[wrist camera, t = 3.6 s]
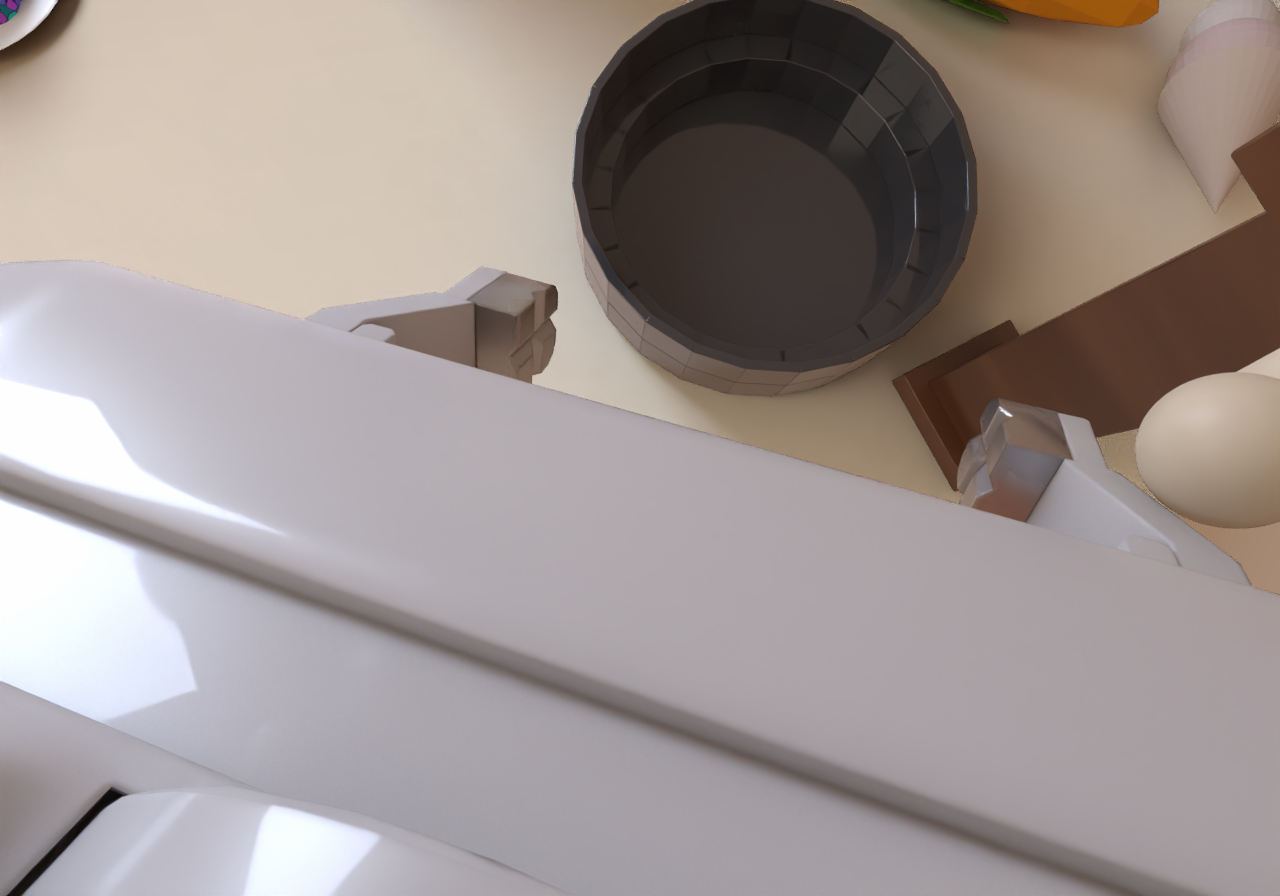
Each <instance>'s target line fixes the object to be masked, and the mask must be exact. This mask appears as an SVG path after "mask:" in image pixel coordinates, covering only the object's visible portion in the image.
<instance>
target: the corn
mask: <svg viewBox="0 0 1280 896" xmlns="http://www.w3.org/2000/svg"><path fill="white" fill-rule="evenodd" d="M948 1H950V2H952V3H954V4H956V5H959V6H962V7H965V8H967V9H970V10H973V11H976V12H978V13H981V14H984V15H987V16H989V17H992V18H995V19H998V20H1000V21H1003V22H1006V23H1009V21H1008V19H1007V18H1005V17H1004V16H1003V15H1002V14H1001V13H1000V12H999V11H996V10H994V9H991V8H989V7H986V6H984V5H981V4H979V3H976V2H974V1H972V0H948ZM980 1H982V2H985V3H989V4H993V5H997V6H1001V7H1004V8H1008V9H1012V10H1016V11H1020V12H1024V13H1028V14H1031V15H1035V16H1039V17H1043V18H1047V19H1052V20H1060V21H1069V22H1078V23H1086V24H1095V25H1104V26H1112V27H1124V26H1130V25H1136V24H1142V23H1143V22H1145V21H1146V20H1148V19H1149V18H1150V17H1152V16H1153V15H1155V14H1156V13H1158V8H1159V0H980Z"/></svg>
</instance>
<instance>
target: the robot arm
mask: <svg viewBox="0 0 1280 896" xmlns="http://www.w3.org/2000/svg"><path fill="white" fill-rule="evenodd" d="M557 306H558V292H557V289H556V287H555V286H554V285H550V284H547V283H543V282H539V281H536V280H532V279H528V278H525V277H521V276H517V275H514V274H510V273H507V272H506V271H501V270H496V269H492V268H487V267H483V266H482V267H480V268H479V269H477V270H476V271H474V272H473V273H472V274H470V275H469V276H467V277H466V278H464V279H463V280H462V281H460V282H459V283H457V284H456V285H454V286H453V287H452V288H450V289H449V290H447V291H446V292H444V293H443V294H441V293H437V292H432V293H425V294H419V295H412V296H405V297H398V298H391V299H384V300H377V301H371V302H364V303H357V304H350V305H343V306H336V307H329V308H323V309H321V310H319V311H317V312H316V313H314V314H312V315H311V316H309V317H307V318H306V319H300V318H297V317H293V316H290V315H286V314H282V313H279V312H275V311H272V310H268V309H265V308H261V307H258V306H254V305H250V304H247V303H243V302H240V301H236V300H233V299H229V298H226V297H222V296H219V295H215V294H211V293H208V292H204V291H201V290H197V289H194V288H190V287H187V286H183V285H179V284H176V283H172V282H169V281H165V280H162V279H158V278H155V277H151V276H147V275H144V274H141V273H138V272H135V271H132V270H129V269H126V268H122V267H119V266H115V265H111V264H108V263H104V262H97V261H82V260H54V261H26V262H8V263H0V896H1280V594H1276V593H1272V592H1268V591H1266V590H1261V589H1258V588H1255V587H1253V586H1252V584H1251V583H1250V581H1249V579H1248V577H1247V575H1246V573H1245V571H1244V570H1243V568H1242V566H1241V564H1240V563H1239V562H1237V561H1236V560H1235V559H1233V558H1232V557H1231V556H1229V555H1228V554H1227V553H1225V552H1224V551H1223V550H1221V549H1220V548H1219V547H1217V546H1216V545H1215V544H1213V543H1212V542H1211V541H1209V540H1208V539H1207V538H1205V537H1204V536H1203V535H1201V534H1200V533H1199V532H1197V531H1196V530H1195V529H1193V528H1192V527H1191V526H1189V525H1188V524H1187V523H1185V522H1184V521H1183V520H1181V519H1180V518H1179V517H1177V516H1176V515H1175V514H1173V513H1172V512H1171V511H1169V510H1168V509H1167V508H1165V507H1164V506H1163V505H1161V504H1160V503H1159V502H1157V501H1156V500H1155V499H1153V498H1152V497H1150V496H1149V495H1148V494H1146V493H1145V492H1144V491H1142V490H1141V489H1140V488H1138V487H1137V486H1136V485H1134V484H1133V483H1132V482H1130V481H1129V480H1128V479H1126V478H1125V477H1124V476H1122V475H1121V474H1120V473H1118V472H1114V471H1111V470H1109V469H1108V467H1107V464H1106V462H1105V459H1104V457H1103V454H1102V452H1101V449H1100V447H1099V445H1098V442H1097V440H1096V437H1095V435H1094V432H1093V430H1092V427H1091V425H1090V422H1089V421H1088V420H1086V419H1084V418H1080V417H1075V416H1070V415H1066V414H1061V413H1057V412H1056V411H1052V410H1048V409H1043V408H1039V407H1035V406H1030V405H1026V404H1022V403H1017V402H1013V401H1009V400H1004V399H1000V398H994V399H992V400H991V401H990V402H989V404H988V405H987V406H986V408H985V410H984V412H983V414H982V416H981V418H980V423H981V430H982V433H981V434H979V435H977V436H975V437H973V438H972V439H970V440H969V442H968V444H967V446H966V448H965V450H964V452H963V455H962V458H961V461H960V464H959V467H958V473H957V489H958V490H959V491H960V492H961V493H962V494H963V497H962V499H961V501H960V502H959V504H957V503H953V502H950V501H946V500H943V499H939V498H935V497H932V496H928V495H925V494H921V493H918V492H914V491H911V490H907V489H903V488H900V487H896V486H893V485H889V484H886V483H882V482H879V481H875V480H872V479H868V478H864V477H861V476H857V475H854V474H850V473H847V472H843V471H840V470H836V469H833V468H829V467H825V466H822V465H818V464H815V463H811V462H808V461H804V460H801V459H797V458H793V457H790V456H786V455H783V454H779V453H776V452H772V451H769V450H765V449H762V448H758V447H754V446H751V445H747V444H744V443H740V442H737V441H733V440H730V439H726V438H722V437H719V436H715V435H712V434H708V433H705V432H701V431H698V430H694V429H691V428H687V427H683V426H680V425H676V424H673V423H669V422H666V421H662V420H659V419H655V418H652V417H648V416H644V415H641V414H637V413H634V412H630V411H627V410H623V409H620V408H616V407H612V406H609V405H605V404H602V403H598V402H595V401H591V400H588V399H584V398H581V397H577V396H573V395H570V394H566V393H563V392H559V391H556V390H552V389H549V388H545V387H542V386H538V385H534V384H532V375H535V374H539V373H542V372H543V370H544V369H545V368H546V367H547V366H548V364H549V361H550V359H551V357H552V354H553V351H554V346H555V340H556V328H555V327H554V325H553V323H552V321H551V319H550V318H549V317H550V316H551V315H552V314H553V313H554V312H555V311H556V310H557Z"/></svg>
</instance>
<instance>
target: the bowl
mask: <svg viewBox="0 0 1280 896" xmlns="http://www.w3.org/2000/svg"><path fill="white" fill-rule="evenodd" d="M572 188H573V199H574V210H575V221H576V232H577V238H578V242H579V247H580V252H581V256H582V261H583V265H584V270H585V275H586V278H587V280H588V282H589V284H590V285H591V287H592V289H593V291H594V293H595V295H596V297H597V299H598V301H599V303H600V305H601V307H602V308H603V310H604V312H605V314H606V316H607V317H608V319H609V320H610V321H611V322H612V323H613V324H614V325H615V326H616V328H617V329H618V330H619V331H620V332H621V333H622V334H623V335H624V336H625V337H626V338H627V340H628V341H629V342H630V343H631V344H632V345H633V346H634V347H635V348H636V349H637V350H638V351H639V352H640V353H641V354H642V355H644V356H645V357H647V358H648V359H650V360H651V361H653V362H655V363H656V364H658V365H659V366H661V367H662V368H664V369H666V370H667V371H669V372H670V373H672V374H673V375H675V376H676V377H678V378H680V379H682V380H685V381H688V382H691V383H694V384H697V385H701V386H704V387H707V388H710V389H713V390H716V391H719V392H722V393H727V394H740V395H757V396H778V395H783V394H788V393H793V392H798V391H803V390H807V389H812V388H817V387H819V386H823V385H825V384H827V383H829V382H831V381H833V380H834V379H836V378H838V377H840V376H842V375H844V374H846V373H848V372H850V371H852V370H854V369H856V368H858V367H860V366H861V365H863V364H864V363H866V362H867V361H868V360H870V359H871V358H873V357H874V356H876V355H877V354H878V353H880V352H881V351H883V350H884V349H886V348H887V347H889V346H890V345H892V344H893V343H894V342H896V341H897V340H899V339H900V338H902V337H903V336H904V335H905V334H906V333H907V332H908V331H909V330H910V329H911V328H912V327H914V326H915V325H916V324H917V323H918V322H919V321H920V320H921V319H922V318H923V317H924V316H925V315H926V314H928V313H929V312H930V311H931V310H932V309H933V308H934V307H935V306H936V305H937V304H938V303H939V302H940V300H941V298H942V297H943V295H944V293H945V292H946V290H947V288H948V287H949V285H950V283H951V282H952V280H953V278H954V277H955V275H956V273H957V272H958V270H959V268H960V267H961V265H962V263H963V262H964V259H965V256H966V253H967V249H968V245H969V241H970V238H971V234H972V230H973V226H974V222H975V219H976V215H977V169H976V159H975V155H974V152H973V149H972V145H971V142H970V138H969V135H968V132H967V128H966V125H965V121H964V118H963V115H962V112H961V111H960V109H959V107H958V106H957V104H956V102H955V101H954V99H953V97H952V96H951V94H950V92H949V91H948V89H947V87H946V86H945V84H944V82H943V81H942V79H941V77H940V76H939V74H938V72H937V71H936V70H935V69H934V68H933V67H932V66H931V65H930V64H929V63H928V62H927V61H926V60H925V59H924V58H923V57H922V56H921V55H920V54H919V53H918V52H917V51H916V50H915V49H914V48H913V47H912V46H911V45H910V44H909V43H908V42H907V41H906V40H905V39H904V38H903V37H902V36H901V35H900V34H899V33H897V32H896V31H894V30H892V29H891V28H889V27H887V26H886V25H884V24H883V23H881V22H879V21H878V20H876V19H874V18H873V17H871V16H870V15H868V14H866V13H865V12H863V11H861V10H860V9H858V8H856V7H854V6H851V5H848V4H845V3H842V2H838V1H835V0H694V1H691V2H689V3H687V4H684V5H682V6H680V7H677V8H675V9H673V10H671V11H668V12H666V13H664V14H661V15H660V16H658V17H657V18H656V19H655V20H653V21H652V22H651V23H650V24H648V25H647V26H646V27H644V28H643V29H642V30H641V31H639V32H638V33H637V34H636V35H634V36H633V37H632V38H631V39H629V40H628V41H627V42H626V43H624V44H623V45H622V46H621V47H620V48H619V50H618V51H617V53H616V54H615V55H614V57H613V58H612V59H611V61H610V62H609V64H608V65H607V66H606V68H605V69H604V70H603V72H602V73H601V75H600V76H599V77H598V79H597V80H596V81H595V83H594V84H593V86H592V88H591V91H590V94H589V96H588V99H587V102H586V105H585V107H584V110H583V113H582V116H581V118H580V121H579V124H578V127H577V129H576V133H575V144H574V159H573V175H572Z"/></svg>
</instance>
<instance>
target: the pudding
mask: <svg viewBox="0 0 1280 896" xmlns="http://www.w3.org/2000/svg"><path fill="white" fill-rule="evenodd" d="M57 1H58V0H0V50H2V49H4V48H6V47H8V46H9V45H11V44H13V43H15V42H17V41H19V40H20V39H22V38H23V37H24V36H26V35H27V34H28V33H30V32H31V31H32V30H34V29H35V28H36V27H37V26H38V25H39V24H40V23H41V22H42V21H43V20H44V19H45V18H46V17H47V16H48V15H49V13H50V12H51V10H52V9H53V7H54V6H55V4H56V3H57Z"/></svg>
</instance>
